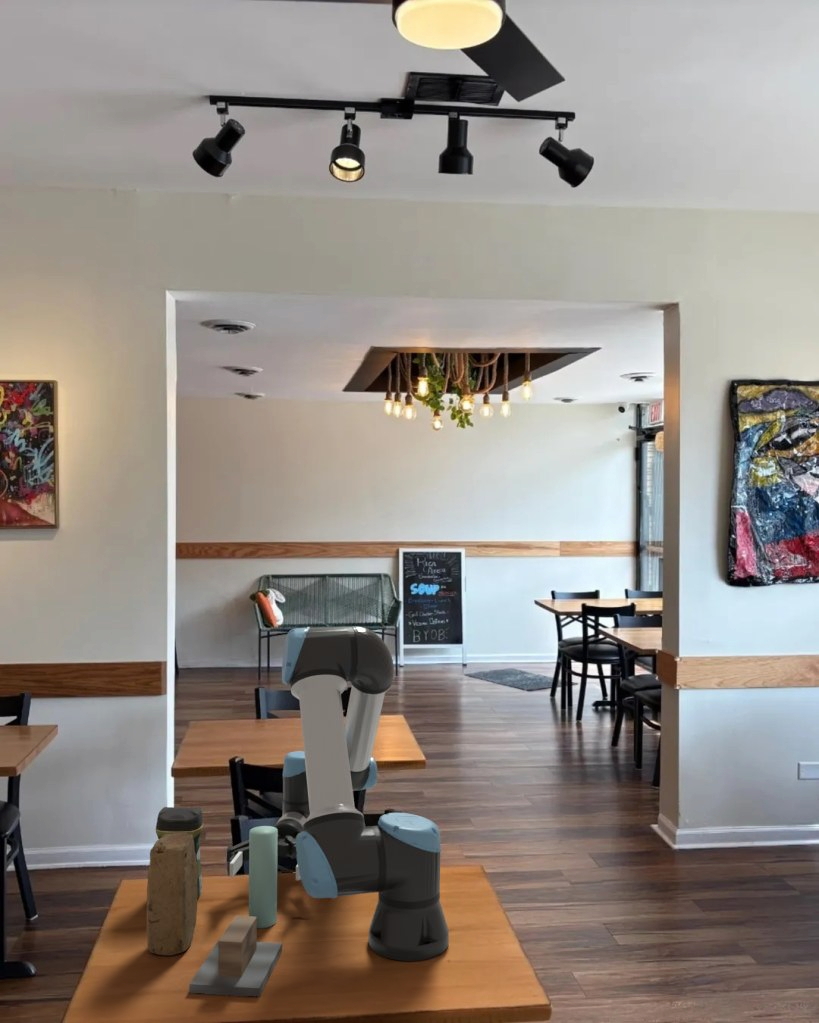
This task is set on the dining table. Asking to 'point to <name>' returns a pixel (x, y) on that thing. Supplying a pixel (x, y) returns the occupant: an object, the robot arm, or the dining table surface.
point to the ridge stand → (237, 962)
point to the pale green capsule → (263, 875)
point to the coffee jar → (183, 829)
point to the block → (171, 894)
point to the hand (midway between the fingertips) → (264, 871)
